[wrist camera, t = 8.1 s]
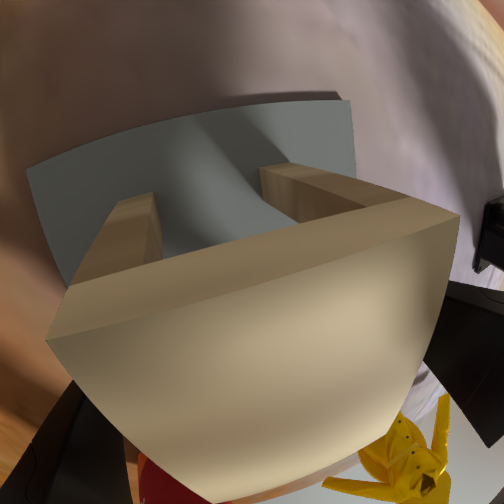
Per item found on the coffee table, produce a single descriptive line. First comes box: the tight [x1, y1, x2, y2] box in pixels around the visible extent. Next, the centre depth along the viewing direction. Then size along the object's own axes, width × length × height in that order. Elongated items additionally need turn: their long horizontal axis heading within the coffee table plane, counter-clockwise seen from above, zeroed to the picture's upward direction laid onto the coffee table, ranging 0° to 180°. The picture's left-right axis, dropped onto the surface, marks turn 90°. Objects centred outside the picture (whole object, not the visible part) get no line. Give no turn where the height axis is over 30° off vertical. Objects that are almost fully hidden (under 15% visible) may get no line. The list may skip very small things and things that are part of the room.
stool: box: [46, 162, 460, 504], centre depth 7 cm, size 8×6×7 cm
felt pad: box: [26, 100, 356, 289], centre depth 11 cm, size 12×12×1 cm
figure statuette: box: [322, 393, 451, 504], centre depth 16 cm, size 18×8×22 cm, turn 112°
